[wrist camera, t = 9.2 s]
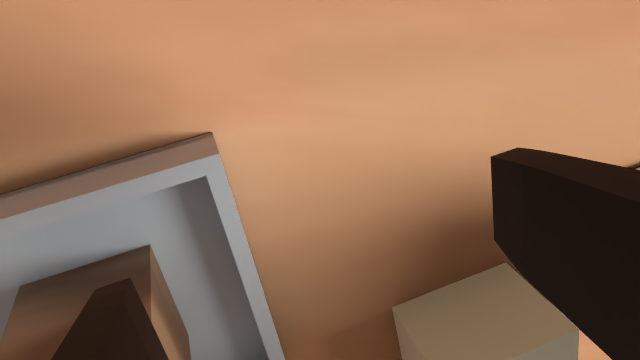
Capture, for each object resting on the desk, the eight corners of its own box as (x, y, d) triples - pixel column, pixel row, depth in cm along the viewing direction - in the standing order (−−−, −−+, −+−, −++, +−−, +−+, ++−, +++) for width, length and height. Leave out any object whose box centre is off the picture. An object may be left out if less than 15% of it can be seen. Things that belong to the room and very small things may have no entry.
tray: (212, 132, 18) (219, 153, 16) (284, 357, 23) (295, 392, 22) (-140, 235, 16) (-174, 272, 15) (26, 455, 22) (15, 501, 20)
